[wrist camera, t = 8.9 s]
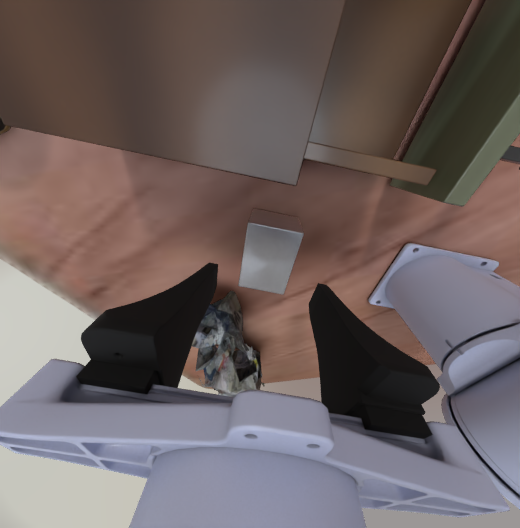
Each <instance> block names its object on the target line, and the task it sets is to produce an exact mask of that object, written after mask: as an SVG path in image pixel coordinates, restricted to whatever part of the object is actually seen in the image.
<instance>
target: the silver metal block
mask: <svg viewBox="0 0 520 528" xmlns="http://www.w3.org/2000/svg"><path fill="white" fill-rule="evenodd" d="M303 235H304V233H303V230H302V227H301V224H300V221H299V218H298V217H294V216H289V215H284V214H279V213H274V212H269V211H265V210H260V209H255V208H253V211H252V213H251V216H250V219H249V221H248V226H247V232H246V239H245V245H244V252H243V258H242V265H241V271H240V278H239V284H238V286H241V287H246V288H251V289H256V290H262V291H267V292H272V293H278V294H284V292H285V289H286V286H287V283H288V280H289V277H290V274H291V271H292V268H293V265H294V262H295V259H296V256H297V253H298V250H299V247H300V244H301V241H302V238H303Z"/></svg>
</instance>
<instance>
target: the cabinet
mask: <svg viewBox="0 0 520 528" xmlns="http://www.w3.org/2000/svg"><path fill="white" fill-rule="evenodd" d="M345 3H346V0H0V117H1V119H2V121H3V123H4V125H7V126H12V127H17V128H22V129H26V130H31V131H36V132H41V133H45V134H50V135H55V136H60V137H64V138H69V139H74V140H79V141H83V142H88V143H93V144H98V145H102V146H107V147H112V148H117V149H121V150H126V151H131V152H136V153H141V154H145V155H150V156H155V157H160V158H164V159H169V160H174V161H179V162H183V163H188V164H193V165H198V166H202V167H207V168H212V169H217V170H221V171H226V172H231V173H236V174H241V175H245V176H250V177H255V178H260V179H264V180H269V181H274V182H279V183H283V184H288V185H293V186H296V185H297V182H298V178H299V174H300V170H301V167H302V163H303V159H304V156H305V152H306V148H307V144H308V141H309V137H310V133H311V130H312V126H313V122H314V118H315V115H316V111H317V107H318V104H319V100H320V96H321V92H322V89H323V85H324V81H325V78H326V74H327V70H328V66H329V63H330V59H331V55H332V52H333V48H334V44H335V40H336V37H337V33H338V29H339V26H340V22H341V18H342V14H343V11H344V7H345Z"/></svg>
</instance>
